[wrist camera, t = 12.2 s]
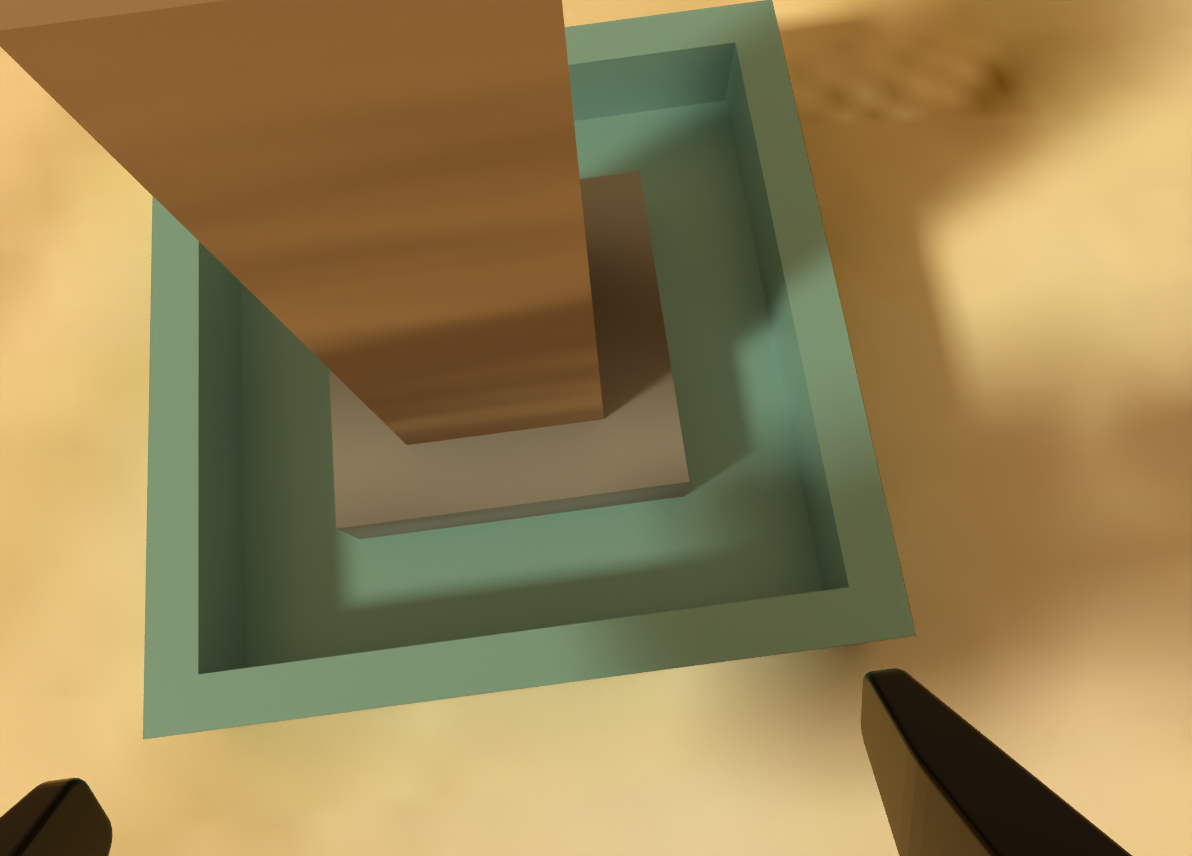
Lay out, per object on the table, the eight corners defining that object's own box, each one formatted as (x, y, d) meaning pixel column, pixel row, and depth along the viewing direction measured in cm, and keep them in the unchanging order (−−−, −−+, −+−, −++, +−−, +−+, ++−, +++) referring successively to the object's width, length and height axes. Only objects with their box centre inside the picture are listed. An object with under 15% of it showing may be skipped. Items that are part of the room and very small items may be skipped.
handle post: (684, 496, 18) (814, 111, 5) (359, 538, 18) (-260, 254, 5) (638, 206, 20) (655, -574, 7) (345, 246, 20) (-139, -465, 7)
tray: (869, 639, 18) (916, 635, 15) (221, 727, 18) (143, 739, 15) (753, 87, 22) (771, -1, 19) (217, 159, 22) (154, 82, 19)
